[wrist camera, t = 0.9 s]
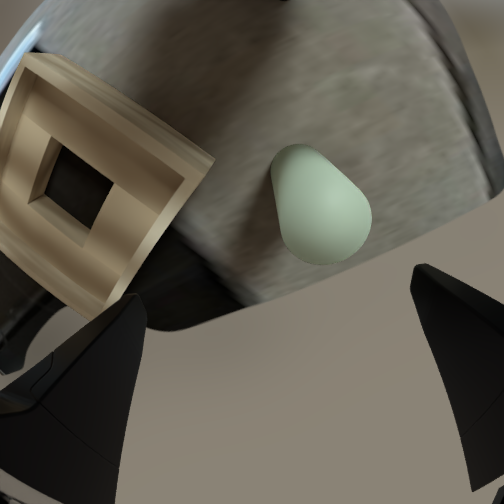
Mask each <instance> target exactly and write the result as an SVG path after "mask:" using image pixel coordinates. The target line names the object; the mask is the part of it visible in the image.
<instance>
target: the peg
mask: <svg viewBox="0 0 504 504" xmlns="http://www.w3.org/2000/svg"><path fill="white" fill-rule="evenodd" d="M270 172H271V180H272V185H273V191H274V196H275V202H276V207H277V213H278V219H279V225H280V230H281V235H282V239H283V241H284V243H285V245H286V247H287V248H288V249H289V251H290V252H291V253H292V254H293V255H294V256H296V257H297V258H299V259H300V260H302V261H304V262H307V263H310V264H315V265H329V264H334V263H338V262H340V261H343V260H345V259H347V258H349V257H350V256H352V255H353V254H354V253H355V252H356V251H357V250H358V249H359V248H360V247H361V246H362V245H363V243H364V242H365V240H366V238H367V236H368V234H369V231H370V228H371V220H372V216H371V209H370V206H369V203H368V201H367V199H366V197H365V196H364V194H363V193H362V192H361V191H360V190H359V189H358V188H357V187H356V186H355V185H354V184H353V183H352V182H351V181H350V180H349V179H348V178H347V177H346V176H345V175H343V174H342V173H341V172H340V171H339V170H338V169H337V168H336V167H335V166H334V165H333V164H332V163H330V162H329V161H328V160H327V159H326V158H325V157H324V156H323V155H321V154H320V153H319V152H318V151H317V150H316V149H314V148H312V147H310V146H308V145H303V144H294V145H290V146H287V147H285V148H284V149H282V150H281V151H280V152H279V153H277V155H276V156H275V158H274V159H273V162H272V164H271V170H270Z"/></svg>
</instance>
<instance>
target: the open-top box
mask: <svg viewBox="0 0 504 504" xmlns="http://www.w3.org/2000/svg"><path fill="white" fill-rule="evenodd" d="M63 145H64V146H66V147H67V148H68V149H69V150H71V151H72V152H73V153H75V154H76V155H77V156H79V157H80V158H81V159H83V160H84V161H85V162H87V163H88V164H89V165H91V166H92V167H94V168H95V169H96V170H98V171H99V172H100V173H102V174H103V175H104V176H106V177H107V178H108V179H110V180H111V181H112V182H114V185H113V187H112V188H111V190H110V192H109V194H108V196H107V198H106V200H105V202H104V204H103V206H102V208H101V210H100V212H99V214H98V216H97V218H96V220H95V222H94V224H93V226H92V228H91V230H90V229H88V228H87V227H86V226H84V225H83V224H82V223H80V222H79V221H78V220H77V219H75V218H74V217H73V216H71V215H70V214H69V213H68V212H66V211H65V210H64V209H62V208H61V207H60V206H59V205H57V204H56V203H55V202H54V201H52V200H51V199H50V198H49V197H48V196H46V195H45V194H44V192H45V189H46V186H47V183H48V181H49V178H50V175H51V172H52V170H53V167H54V165H55V162H56V160H57V157H58V155H59V153H60V150H61V148H62V146H63ZM215 160H216V159H215V158H213V157H212V156H211V155H209V154H208V153H207V152H205V151H204V150H203V149H201V148H200V147H198V146H197V145H196V144H194V143H193V142H192V141H190V140H189V139H187V138H186V137H185V136H183V135H182V134H181V133H179V132H178V131H176V130H175V129H174V128H172V127H171V126H169V125H168V124H166V123H165V122H164V121H162V120H161V119H159V118H158V117H156V116H155V115H154V114H152V113H151V112H149V111H148V110H146V109H145V108H143V107H142V106H140V105H139V104H137V103H136V102H134V101H133V100H132V99H130V98H129V97H127V96H126V95H124V94H123V93H121V92H119V91H118V90H116V89H115V88H113V87H112V86H110V85H109V84H107V83H106V82H104V81H103V80H101V79H99V78H98V77H96V76H95V75H93V74H92V73H90V72H88V71H87V70H85V69H83V68H82V67H80V66H79V65H77V64H75V63H74V62H72V61H70V60H69V59H67V58H65V57H64V56H62V55H60V54H47V53H24V55H23V57H22V59H21V61H20V63H19V65H18V67H17V70H16V72H15V74H14V76H13V79H12V81H11V83H10V86H9V88H8V91H7V93H6V96H5V99H4V101H3V104H2V107H1V110H0V250H1V251H2V252H3V253H4V254H5V255H6V256H7V257H9V258H10V259H11V260H12V261H13V262H14V263H15V264H16V265H18V266H19V267H20V268H21V269H22V270H23V271H24V272H26V273H27V274H28V275H29V276H30V277H32V278H33V279H34V280H35V281H36V282H38V283H39V284H40V285H41V286H43V287H44V288H45V289H46V290H48V291H49V292H50V293H52V294H53V295H54V296H56V297H57V298H58V299H60V300H61V301H62V302H64V303H65V304H66V305H68V306H69V307H71V308H72V309H73V310H75V311H76V312H77V313H79V314H80V315H82V316H83V317H85V318H86V319H88V320H89V321H92V320H93V319H94V318H95V317H97V316H98V315H99V314H101V313H102V312H103V311H105V310H106V309H107V308H108V307H110V306H111V305H112V304H114V303H115V302H116V301H118V300H119V299H120V298H121V296H122V294H123V293H124V291H125V290H126V288H127V286H128V285H129V283H130V282H131V280H132V279H133V277H134V275H135V274H136V272H137V271H138V269H139V268H140V266H141V265H142V263H143V262H144V260H145V259H146V257H147V256H148V254H149V253H150V251H151V250H152V248H153V247H154V245H155V244H156V242H157V241H158V240H159V238H160V237H161V235H162V234H163V232H164V231H165V230H166V228H167V227H168V225H169V224H170V222H171V221H172V220H173V218H174V217H175V216H176V214H177V213H178V211H179V210H180V209H181V207H182V206H183V205H184V203H185V202H186V201H187V199H188V198H189V197H190V195H191V194H192V193H193V191H194V190H195V189H196V187H197V186H198V185H199V183H200V182H201V181H202V179H203V178H204V177H205V176H206V174H207V172H208V171H209V169H210V168H211V166H212V165H213V163H214V162H215Z"/></svg>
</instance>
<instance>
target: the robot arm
mask: <svg viewBox="0 0 504 504" xmlns="http://www.w3.org/2000/svg"><path fill="white" fill-rule="evenodd" d="M281 1H286V0H281ZM410 291H411V295H412V298H413V300H414V304H415V306H416V309H417V313H418V316H419V319H420V322H421V325H422V328H423V331H424V334H425V336H426V338H427V341H428V343H429V346H430V348H431V351H432V353H433V356H434V358H435V361H436V364H437V366H438V369H439V372H440V375H441V377H442V380H443V383H444V386H445V388H446V392H447V394H448V398H449V400H450V404H451V407H452V410H453V414H454V417H455V420H456V424H457V428H458V431H459V435H460V437H461V443H462V447H463V451H464V456H465V460H466V464H467V469H468V474H469V479H470V485H471V490H472V492H474V491H476V490H478V489H480V488H481V487H483V486H485V485H487V484H489V483H490V482H492V481H494V480H495V479H497V478H499V477H500V476H502V475H503V474H504V304H501V303H500V302H498V301H497V300H495V299H493V298H491V297H489V296H488V295H486V294H484V293H482V292H480V291H479V290H477V289H475V288H473V287H471V286H469V285H467V284H465V283H464V282H462V281H460V280H458V279H456V278H454V277H452V276H450V275H448V274H446V273H444V272H442V271H441V270H439V269H437V268H435V267H433V266H430V265H429V264H426V263H425V264H418V265H416V266H415V267H414V270H413V275H412V280H411V284H410ZM146 323H147V313H146V310H145V308H144V306H143V303H142V301H141V299H140V297H139V295H138V294H126V295H124V296H123V297H122V298H120V299H119V300H118V301H116V302H115V303H114V304H112V305H111V306H110V307H108V308H107V309H106V310H105V311H103V312H102V313H101V314H99V315H98V316H97V317H95V318H94V319H93V320H92V321H90V322H89V323H88V324H87V325H85V326H84V327H83V328H81V329H80V330H79V331H78V332H76V333H75V334H74V335H73V336H71V337H70V338H69V339H67V340H66V341H65V342H64V343H63V344H61V345H60V346H59V347H58V348H56V349H55V350H54V352H51V353H50V354H49V355H48V356H46V357H45V358H44V359H43V360H41V361H40V362H39V363H37V364H36V365H35V366H34V367H32V368H31V369H30V370H28V371H27V372H26V373H24V374H23V375H21V376H20V377H19V378H17V379H16V380H14V381H13V382H12V383H10V384H9V385H8V386H6V387H5V388H4V389H2V390H1V391H0V504H115V496H116V489H117V481H118V474H119V466H120V460H121V453H122V447H123V442H124V436H125V431H126V426H127V420H128V415H129V410H130V406H131V401H132V396H133V392H134V387H135V383H136V379H137V374H138V370H139V366H140V361H141V357H142V351H143V343H144V337H145V330H146ZM492 504H504V485H503V486H502V487H500V488H499V489H498V492H497V494H496V496H495V498H494V501H493V503H492Z"/></svg>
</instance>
